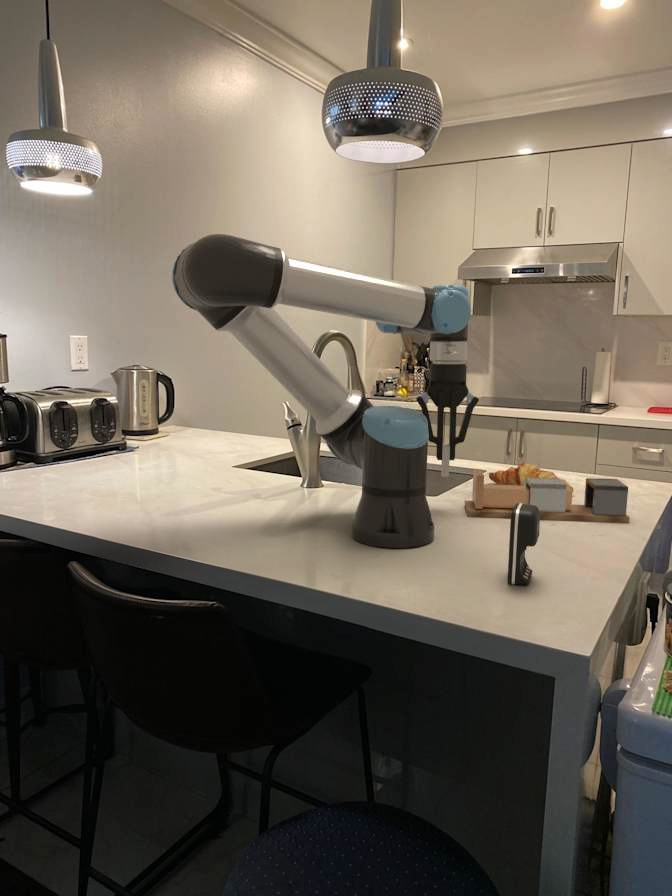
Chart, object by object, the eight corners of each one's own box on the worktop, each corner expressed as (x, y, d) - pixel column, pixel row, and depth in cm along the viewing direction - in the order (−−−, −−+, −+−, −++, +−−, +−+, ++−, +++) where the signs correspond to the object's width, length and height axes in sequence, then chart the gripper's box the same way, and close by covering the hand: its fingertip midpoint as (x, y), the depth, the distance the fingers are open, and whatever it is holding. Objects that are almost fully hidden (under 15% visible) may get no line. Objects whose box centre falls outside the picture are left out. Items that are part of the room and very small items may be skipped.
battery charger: (533, 588, 99) (537, 513, 97) (506, 585, 100) (510, 510, 98) (537, 573, 105) (542, 502, 103) (512, 570, 107) (516, 500, 105)
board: (467, 516, 138) (468, 510, 138) (464, 505, 147) (464, 500, 147) (629, 523, 135) (629, 517, 135) (615, 511, 144) (616, 506, 143)
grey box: (593, 514, 136) (595, 485, 135) (584, 505, 144) (586, 478, 143) (625, 516, 135) (628, 487, 134) (614, 506, 143) (617, 479, 142)
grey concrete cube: (529, 511, 138) (531, 484, 137) (524, 504, 144) (525, 477, 143) (564, 513, 137) (566, 485, 136) (557, 505, 144) (559, 478, 143)
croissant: (575, 509, 160) (583, 477, 162) (565, 496, 152) (573, 463, 154) (491, 494, 172) (499, 465, 174) (478, 481, 164) (486, 451, 166)
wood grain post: (475, 508, 139) (476, 475, 138) (472, 500, 146) (473, 468, 145) (572, 512, 137) (575, 478, 136) (565, 504, 144) (567, 471, 142)
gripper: (416, 363, 135) (414, 478, 139) (482, 363, 134) (478, 479, 138) (416, 361, 143) (414, 471, 147) (478, 362, 141) (474, 472, 145)
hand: (445, 475), depth 142 cm, fingers closed
